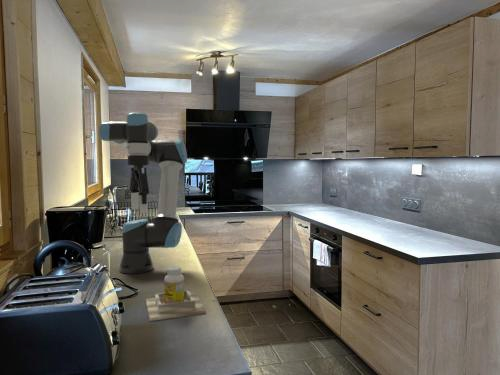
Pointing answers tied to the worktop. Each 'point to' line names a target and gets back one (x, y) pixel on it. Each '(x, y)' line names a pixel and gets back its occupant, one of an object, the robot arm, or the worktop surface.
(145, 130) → the robot arm
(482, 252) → the worktop surface
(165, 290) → the supplement bottle
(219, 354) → the worktop surface
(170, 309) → the holder board
